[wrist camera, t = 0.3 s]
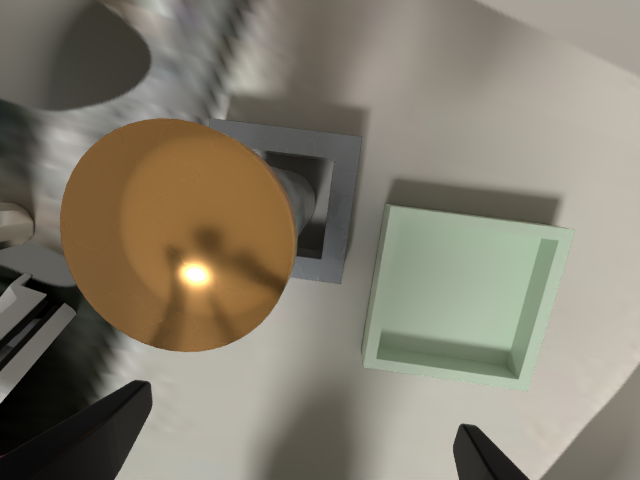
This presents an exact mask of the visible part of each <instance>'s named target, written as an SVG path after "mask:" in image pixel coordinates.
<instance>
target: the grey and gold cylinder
mask: <svg viewBox="0 0 640 480" xmlns="http://www.w3.org/2000/svg"><path fill="white" fill-rule="evenodd" d="M314 210H315V195H314V191H313V189H312V187H311V185H310V184H309V182H308V181H307V180H306V179H305V178H304V177H303V176H301V175H300V174H298V173H296V172H293V171H289V170H285V169H280V168H276V167H271V166H269V165H268V164H267V163H266V162H265V160H264V159H263V158H261V157H260V156H259V155H258V154H257V153H256V152H254V151H253V150H252V149H251V148H249V147H248V146H246V145H245V144H243V143H242V142H240V141H238V140H236V139H234V138H232V137H230V136H228V135H226V134H224V133H221V132H219V131H216V130H214V129H212V128H209V127H206V126H203V125H200V124H197V123H194V122H189V121H184V120H179V119H163V118H161V119H150V120H143V121H139V122H135V123H131V124H128V125H126V126H123V127H121V128H118V129H116V130H114V131H112V132H111V133H109V134H107V135H106V136H104V137H102V138H101V139H100V140H99V141H98V142H96V143H95V144H94V145H93V146H92V147H91V148H90V149H89V150H88V151H87V152H86V153H85V154H84V156H83V157H82V158H81V159H80V161H79V162H78V164H77V165H76V167H75V168H74V170H73V172H72V174H71V176H70V178H69V181H68V183H67V185H66V189H65V192H64V195H63V199H62V206H61V212H60V232H61V241H62V247H63V251H64V255H65V259H66V261H67V264H68V267H69V270H70V272H71V274H72V276H73V278H74V280H75V282H76V284H77V286H78V288H79V289H80V291H81V292H82V294H83V295H84V297H85V298H86V300H87V301H88V302H89V303H90V304H91V306H92V307H93V308H94V309H95V310H96V311H97V312H98V313H99V314H100V315H101V316H102V317H103V318H104V319H105V320H106V321H107V322H109V323H110V324H111V325H113V326H114V327H115V328H116V329H118V330H119V331H121V332H123V333H124V334H126V335H128V336H129V337H131V338H133V339H135V340H138V341H140V342H142V343H144V344H147V345H150V346H153V347H156V348H160V349H165V350H170V351H180V352H198V351H205V350H211V349H215V348H219V347H222V346H225V345H228V344H230V343H232V342H234V341H237V340H239V339H240V338H242V337H244V336H245V335H247V334H248V333H250V332H251V331H252V330H254V329H255V328H256V327H257V326H258V325H260V324H261V323H262V322H263V320H264V319H265V318H266V317H267V316H268V315H269V314H270V312H271V311H272V309H273V308H274V306H275V305H276V304H277V302H278V300H279V298H280V296H281V294H282V292H283V290H284V288H285V286H286V284H287V282H288V280H289V278H290V276H291V273H292V270H293V267H294V264H295V259H296V253H297V239H298V236H299V234H300V233H301V231H302V230H303V229H304V227H305V226H306V225H307V223H308V222H309V220H310V219H311V217H312V215H313V213H314Z"/></svg>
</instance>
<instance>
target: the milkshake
mask: <svg viewBox="0 0 640 480" xmlns="http://www.w3.org/2000/svg"><path fill="white" fill-rule="evenodd" d="M33 228H34V222H33V220H32V218H31V217H30V215H29V213H28V211H27V210H26V209H24V208H22V207H20V206H19V205H17V204H15V203H0V250H2V249H5V248H9V247H12V246H16V245H20V244H24V243H26V242H27V241H28V240H29V239H30V237H31V236H32V235H33Z"/></svg>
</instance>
